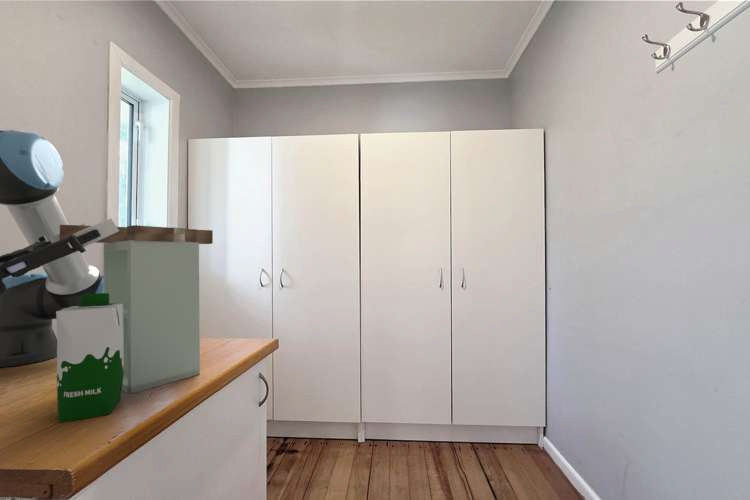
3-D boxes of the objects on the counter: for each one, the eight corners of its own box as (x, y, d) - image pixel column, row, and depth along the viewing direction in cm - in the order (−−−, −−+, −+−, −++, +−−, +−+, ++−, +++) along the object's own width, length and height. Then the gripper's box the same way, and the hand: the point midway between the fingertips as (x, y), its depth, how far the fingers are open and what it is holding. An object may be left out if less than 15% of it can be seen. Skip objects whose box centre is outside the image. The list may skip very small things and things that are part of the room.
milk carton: (127, 397, 68) (127, 291, 69) (115, 416, 60) (115, 295, 61) (69, 405, 65) (70, 294, 65) (47, 426, 57) (48, 299, 57)
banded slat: (135, 240, 71) (135, 224, 71) (127, 241, 73) (127, 225, 73) (196, 242, 82) (196, 228, 83) (188, 243, 84) (188, 229, 84)
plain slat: (59, 241, 69) (59, 224, 69) (59, 242, 72) (59, 226, 72) (212, 243, 88) (212, 230, 88) (208, 244, 90) (208, 231, 90)
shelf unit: (130, 393, 70) (130, 240, 71) (103, 382, 78) (103, 243, 78) (199, 374, 82) (198, 242, 83) (170, 365, 89) (169, 244, 90)
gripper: (-36, 302, 65) (87, 246, 81) (-3, 310, 51) (139, 240, 67) (-68, 267, 62) (66, 215, 78) (-42, 266, 49) (115, 203, 64)
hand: (100, 227), depth 73 cm, fingers open, 13 cm apart
